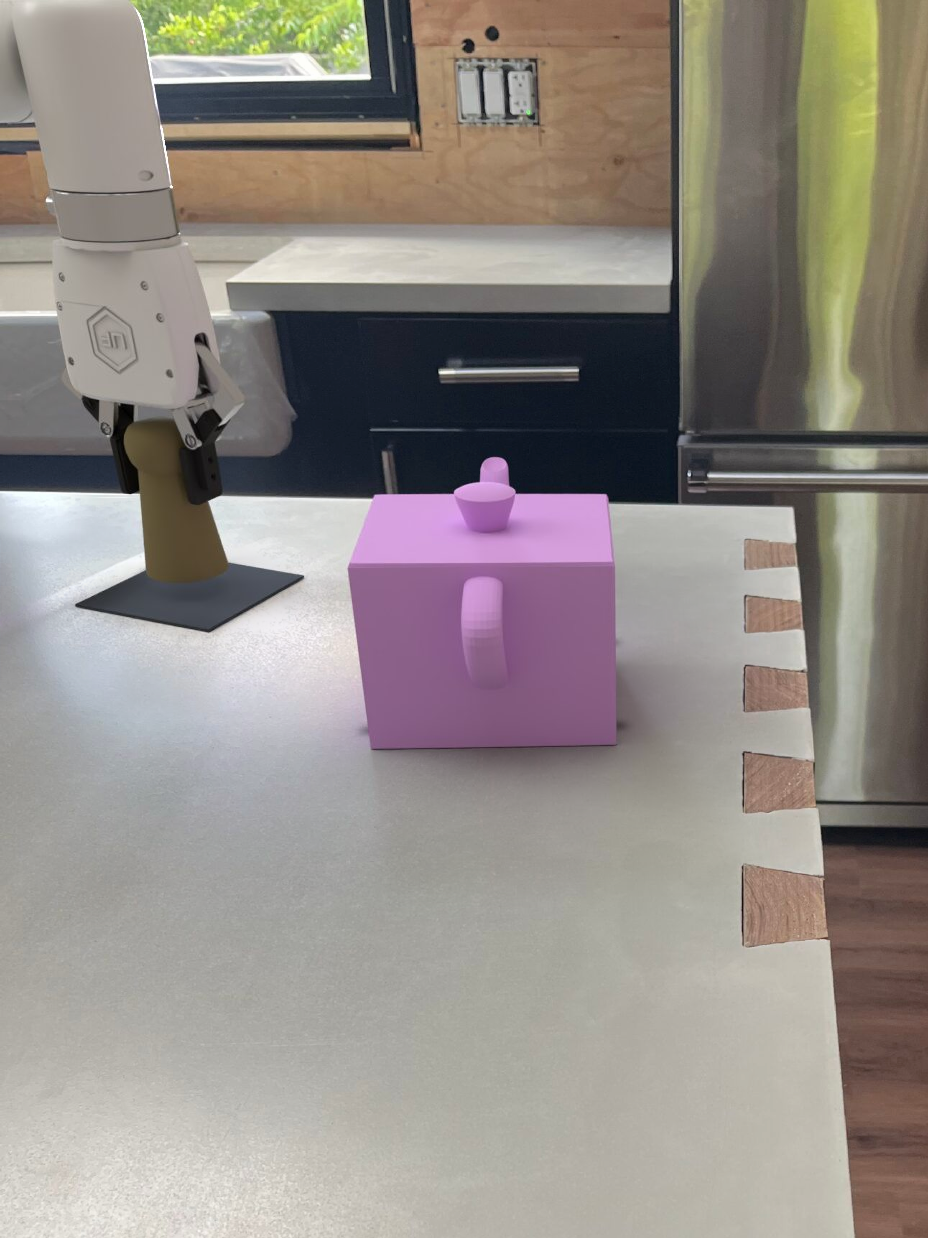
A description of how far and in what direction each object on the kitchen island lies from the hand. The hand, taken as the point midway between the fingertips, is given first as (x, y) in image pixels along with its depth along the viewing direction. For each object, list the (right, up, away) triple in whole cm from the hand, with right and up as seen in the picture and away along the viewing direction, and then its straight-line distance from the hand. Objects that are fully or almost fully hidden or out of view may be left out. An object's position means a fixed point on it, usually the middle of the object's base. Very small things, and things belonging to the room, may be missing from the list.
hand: (172, 492), depth 97 cm
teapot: (+26, -17, -9) cm, 32 cm away
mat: (0, -6, +4) cm, 8 cm away
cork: (0, -5, +3) cm, 6 cm away
